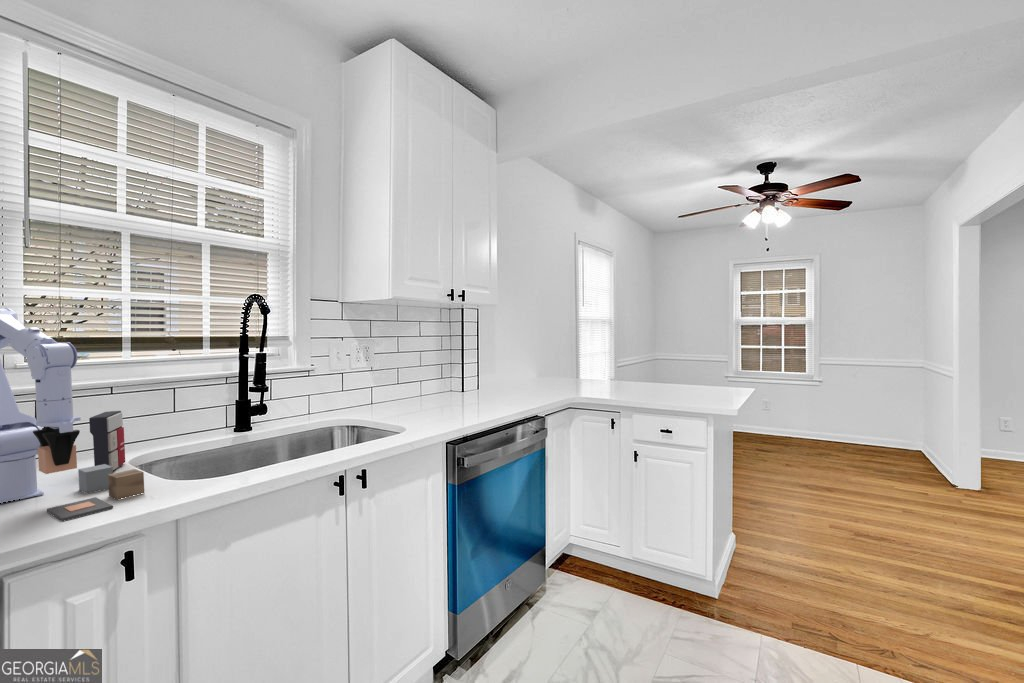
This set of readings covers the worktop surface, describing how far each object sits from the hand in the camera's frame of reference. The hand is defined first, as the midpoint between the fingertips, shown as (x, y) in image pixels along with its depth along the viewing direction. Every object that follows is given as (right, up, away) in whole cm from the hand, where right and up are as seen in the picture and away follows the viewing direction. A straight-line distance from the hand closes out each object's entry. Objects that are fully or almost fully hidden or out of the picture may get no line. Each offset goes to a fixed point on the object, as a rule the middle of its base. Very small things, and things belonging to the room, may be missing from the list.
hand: (57, 462), depth 107 cm
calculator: (-11, -9, +27) cm, 30 cm away
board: (+8, -9, -4) cm, 13 cm away
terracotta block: (0, -1, 0) cm, 1 cm away
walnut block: (+11, -9, +5) cm, 15 cm away
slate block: (0, -9, +10) cm, 13 cm away
